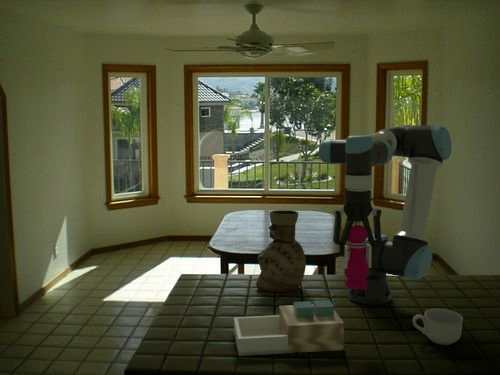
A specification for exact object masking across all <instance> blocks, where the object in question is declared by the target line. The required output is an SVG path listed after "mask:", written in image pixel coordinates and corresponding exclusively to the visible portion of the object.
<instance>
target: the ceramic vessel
mask: <svg viewBox="0 0 500 375" xmlns="http://www.w3.org/2000/svg"><path fill="white" fill-rule="evenodd" d="M298 218H299V212H298V211H295V210H289V209H288V210H285V209H283V210H281V209H279V210H271V211H269V219H270V223H271V225H270V226H268V229H269V238H271V239H272V241H271V242H270V243H269V244H268V245H267V247H266V248H265V249H263V250H262V251H261V252H259V254H258V256H257V261H258V265H259V269H260V273H259V275H258V277H257V280H256V282H255V286H256V288H257V290H259V291H260V292H265V293H266V292H267V293H274V294H275V293H276V294H288V293H292V292H295V291H297V290H298V289H299V287H301V284H302V283H303V279H304V277H305V273H306V267H307V266H306V263H307V262H306V255H305V251H304V248H303V247H302V245H301V244H300V242H298V240H296V225H297V222H298Z"/></svg>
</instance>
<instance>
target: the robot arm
mask: <svg viewBox="0 0 500 375" xmlns="http://www.w3.org/2000/svg"><path fill="white" fill-rule="evenodd" d="M318 152H319V153H318V155H319V158H320V161H322V162H323V163H324V164H331V165H332V164H333V165H335V164H336V165H338V164H340V165H345V172H344V176H345V177H344V184H345V185H344V188H345V190H344V204H343V207H342V208H341V209H334V210H333V213H334V217H335V220H334V228H333V235H332V236H333V238H332V239H333V240H332V242H333V243H334V244H335V245H338V246H339V249H338V250H339V256H340V257H341V258H342V260H341V262H342V264H341V265H342V268H343V269H347V261H348V259H349V257H348V256H349V255H348V253H349V252H348V250H349V246H348V245H347V241H348V239H349V238H348V236H349V233H350V230H351V227H352V226H353V225H354V224H355V223H354V222H356V221H360V222H361V224H362V226H364V227H365V228H366V230H367V232H368V237H367V239H366V240H365V242H366V247H364V258H365V261H366V263H367V265H368V268H369V276H368V277H367V278H366V279H365V280H367V288H365V289H359V290H358V289H350V288H348V290H347V291H348V297H347V298H348V299H349V300H350V301H351V302H354V303H357V304H362V305H366V306H367V305H368V306H370V305H371V306H378V305H384V304H387V303H389V302H391V301H392V292H391V288H390V286H389V283H388V282H389V281H388V278H387V275H391V276H397V277H400V278H404V279H411V280H420V279H423V278H424V277H425V276H426V275H427V273H428V271H429V270H430V269H431V268H430V267H431V265H432V262H433V249H432V248H431V247H430V246H429V241H428V239H427V238H426V231H427V225H428V221H429V220H428V218H429V214H430V209H431V203H432V197H433V192H434V187H435V186H434V185H435V180H436V175H437V170H438V169H439V168H440V167H442V166H443V162H444V161H446V160H448V159H450V156H451V154H452V139H451V135H450V131H449V130H448V129H447V127H445V126H442V125H435V124H431V125H425V124H424V125H421V124H420V125H414V124H413V125H412V124H411V125H408V124H406V125H405V124H402V125H398V126H392V127H388V128H384V129H379V130H378V131H377V132H375V133H371V134H366V135H363V134H362V135H349V136H347V137H346V138H342V139H325V140H322V142H321V143H320V145H319V148H318ZM393 157H399V158H408V159H407V160H408V163H409V164H410V172H409V176H408V177H409V178H408V183H407V187H406V194H405V197H404V205H403V207H402V208H403V209H402V214H401V220H400V224H399V228H398V230H399V231H398V232H396V233H395V234H393V238H392V240H388V239H389V237H388V235H387V234H385V233H384V234H383V233H382V230H381V229H382V228H381V215H382V210H381V209H380V208H373V206H372V190H371V188H372V186H373V185H372V184H373V183H372V182H373V181H372V180H373V179H372V177H373V176H372V173H373V167H381V166H384V165H387V164H388V163H389V162H391V160H392V158H393ZM344 214H345V216H346V219H345V225H344V227H343V229H342V217H343V216H344ZM370 214H372V218H373V231H372V228H371V225H370V220H369V217H370ZM341 229H342V230H343V231H342V233H341Z"/></svg>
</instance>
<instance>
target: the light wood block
mask: <svg viewBox="0 0 500 375" xmlns="http://www.w3.org/2000/svg"><path fill="white" fill-rule="evenodd" d="M311 304H312V305H313V303H311ZM278 315H279V316H280V331H281V333H282V335H288V353H287V354H293V353H294V354H296V353H295V352H298V353H311V352H328V351H329V352H330V351H331V352H332V351H344V345H345V343H344V340H345V338H344V337H345V334H344V333H345V329H344V328H345V322H344V321H343V320H342V318H341V317H340V315H339V314H338V312H336V310H335V309H334V316H327V317H317V316H316V315H315V313H314V317H307V318H296V316H295V314H294V304H293V305H290V304H289V305H279V306H278Z"/></svg>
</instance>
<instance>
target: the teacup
mask: <svg viewBox="0 0 500 375" xmlns="http://www.w3.org/2000/svg"><path fill="white" fill-rule="evenodd" d="M418 319H420V320H422V323H423V327H421V326H420V325H418V323H417V321H418ZM463 321H464V317H463V316H462V315H461V314H460V313H458V312H457V311H454V310H451V309H446V308H429V309H427V310H425V311H424V315H422V314H416V315H414V316H413V318H412V325H413V326H414V327H415V328H416V329H417V330H419V331H421V333H422V334H423V335H425V336H426V337H427V338H428V339H429V340H430V341H431V342H433V343H435V344H437V345H440V346H449V345H453V344H454V343H456V342H458V340H460V339H461V336H462V331H463Z"/></svg>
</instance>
